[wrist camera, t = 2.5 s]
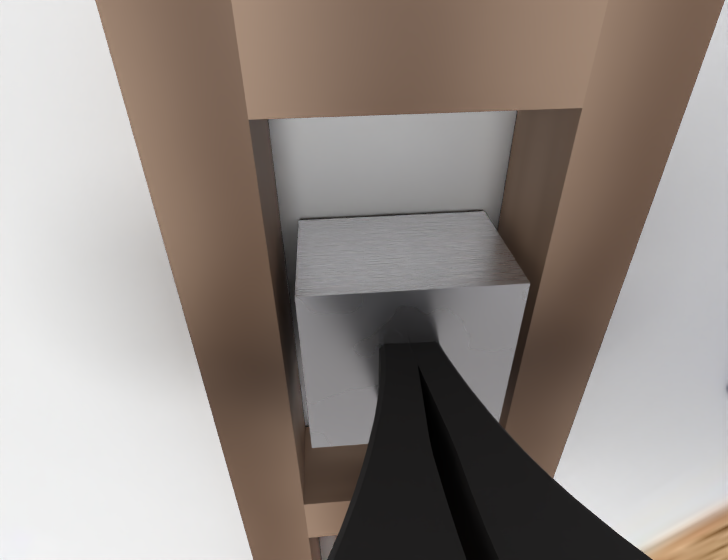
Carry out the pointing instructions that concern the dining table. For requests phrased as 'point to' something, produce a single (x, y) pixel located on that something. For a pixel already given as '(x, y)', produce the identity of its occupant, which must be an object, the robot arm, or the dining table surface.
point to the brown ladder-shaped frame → (391, 97)
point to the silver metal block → (401, 309)
